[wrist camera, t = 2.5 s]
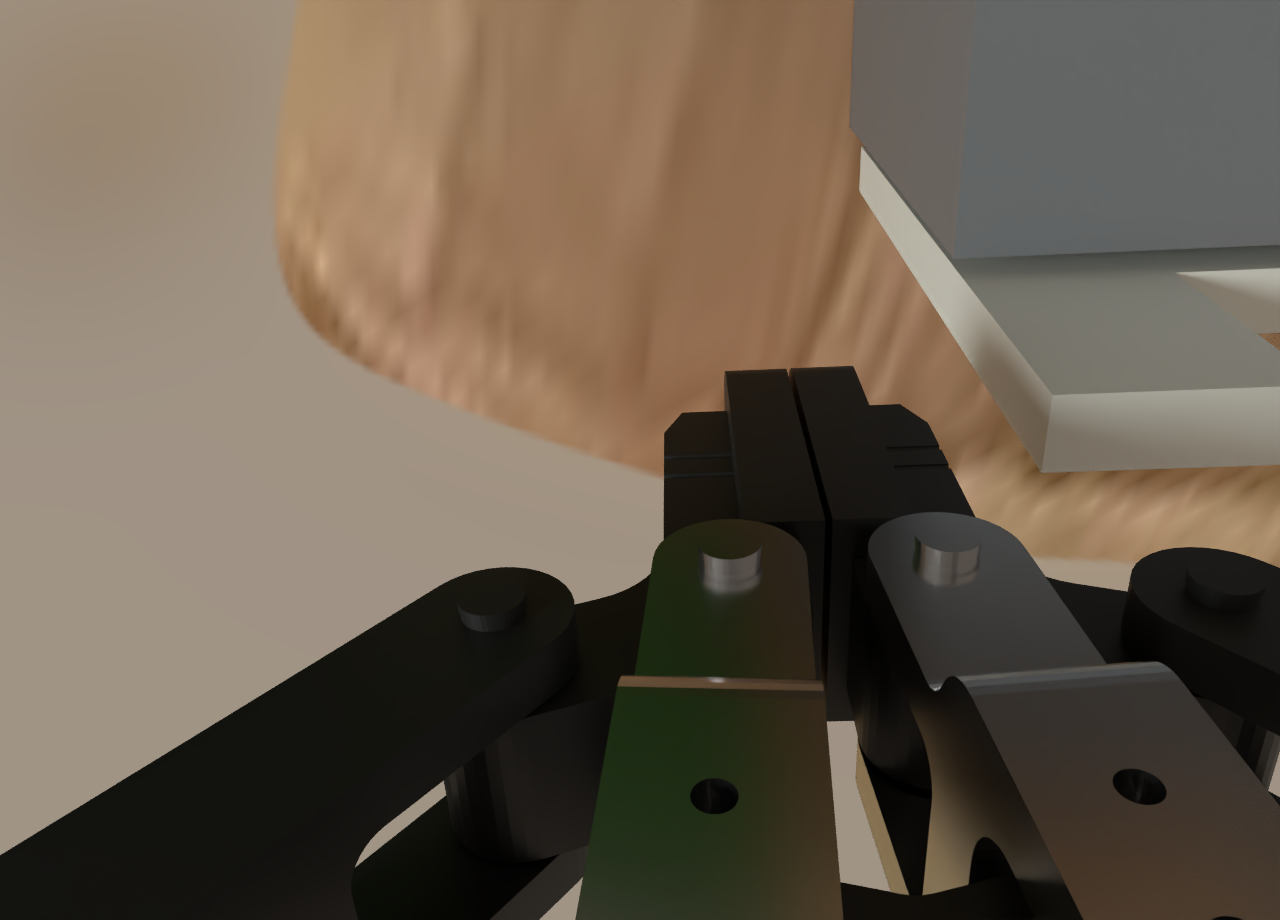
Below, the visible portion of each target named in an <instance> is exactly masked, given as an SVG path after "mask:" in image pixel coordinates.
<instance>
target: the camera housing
mask: <svg viewBox="0 0 1280 920" xmlns="http://www.w3.org/2000/svg"><path fill="white" fill-rule="evenodd" d="M850 128H851V129H852V130H853V132H854V133H855V134H856V135H857V137H858V138H859V139H860V141H861V142H862V143H863V144H864V146H865V147H866V148H867V149H868V151H869V152H870V153H871V155H872V156H873V157H874V158H875V160H876V161H877V162H878V163H879V165H880V166H881V167H882V169H883V170H884V171H885V172H886V174H887V175H888V176H889V177H890V179H891V180H892V181H893V183H894V184H895V185H896V186H897V188H898V189H899V190H900V192H901V193H902V194H903V195H904V197H905V198H906V199H907V200H908V202H909V203H910V204H911V206H912V207H913V208H914V209H915V211H916V212H917V213H918V214H919V216H920V217H921V218H922V220H923V221H924V222H925V223H926V225H927V226H928V227H929V228H930V230H931V231H932V232H933V234H934V235H935V236H936V237H937V239H938V240H939V241H940V242H941V244H942V245H943V246H944V248H945V249H946V250H947V251H948V253H949V254H950V255H951V257H952V258H953V259H963V258H986V257H1009V256H1032V255H1056V254H1079V253H1102V252H1125V251H1148V250H1171V249H1194V248H1217V247H1240V246H1263V245H1280V0H855V2H854V28H853V53H852V79H851V105H850Z"/></svg>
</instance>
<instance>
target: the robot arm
mask: <svg viewBox="0 0 1280 920" xmlns="http://www.w3.org/2000/svg"><path fill="white" fill-rule="evenodd" d="M724 399H725V411H716V412H690V413H682V414H681V415H680V416H679V417H678V418H677V419H676V420H675V422H674V423H673V424H672V425H671V426H670V427H669V428H668V429H667V431H666V432H665V433H664V540H663V541H662V542H661V543H660V545H659V546H658V547H657V549H656V551H655V554H654V557H653V562H652V568H651V574H650V575H648V576H647V578H645V579H643V580H642V581H641V582H639V583H638V584H636V585H634V586H632V587H630V588H629V589H627V590H624V591H622V592H619V593H617V594H614V595H611V596H607V597H604V598H600V599H597V600H592V601H588V602H584V603H580V604H574V599H573V596H572V594H571V592H570V590H569V589H568V588H567V586H565V585H564V584H563V583H562V582H561V581H560V580H558V579H556V578H555V577H553V576H551V575H549V574H546V573H543V572H540V571H536V570H532V569H526V568H516V567H504V568H503V567H501V568H491V569H485V570H480V571H475V572H471V573H468V574H465V575H462V576H459V577H457V578H454V579H452V580H450V581H448V582H446V583H444V584H442V585H440V586H439V587H437V588H435V589H434V590H432V591H430V592H429V593H427V594H425V595H424V596H422V597H421V598H419V599H417V600H416V601H414V602H413V603H411V604H409V605H408V606H406V607H404V608H403V609H401V610H399V611H398V612H396V613H395V614H393V615H392V616H390V617H388V618H386V619H385V620H383V621H381V622H380V623H378V624H377V625H375V626H373V627H372V628H370V629H368V630H367V631H365V632H364V633H362V634H360V635H359V636H357V637H356V638H354V639H352V640H351V641H349V642H347V643H346V644H344V645H343V646H341V647H339V648H337V649H336V650H334V651H333V652H331V653H329V654H328V655H326V656H324V657H323V658H321V659H320V660H318V661H316V662H315V663H313V664H311V665H310V666H308V667H307V668H305V669H303V670H302V671H300V672H298V673H297V674H295V675H293V676H292V677H290V678H289V679H287V680H286V681H284V682H282V683H280V684H279V685H277V686H275V687H274V688H272V689H271V690H269V691H267V692H266V693H264V694H262V695H261V696H259V697H258V698H256V699H254V700H253V701H251V702H250V703H248V704H246V705H245V706H243V707H241V708H240V709H238V710H236V711H235V712H233V713H231V714H230V715H228V716H227V717H225V718H223V719H222V720H220V721H219V722H217V723H215V724H214V725H212V726H210V727H209V728H207V729H205V730H204V731H202V732H200V733H199V734H197V735H196V736H194V737H192V738H191V739H189V740H188V741H186V742H184V743H183V744H181V745H179V746H178V747H176V748H174V749H173V750H171V751H170V752H168V753H166V754H165V755H163V756H161V757H160V758H159V759H156V760H155V761H153V762H152V763H150V764H148V765H147V766H145V767H143V768H142V769H140V770H139V771H137V772H135V773H134V774H132V775H130V776H129V777H127V778H125V779H124V780H122V781H121V782H119V783H117V784H116V785H114V786H112V787H111V788H109V789H108V790H106V791H104V792H103V793H101V794H100V795H98V796H96V797H95V798H93V799H91V800H90V801H88V802H86V803H85V804H83V805H81V806H80V807H79V808H77V809H75V810H73V811H72V812H70V813H68V814H67V815H65V816H64V817H62V818H60V819H59V820H57V821H56V822H54V823H52V824H50V825H49V826H47V827H46V828H44V829H42V830H41V831H39V832H37V833H36V834H34V835H33V836H31V837H30V838H28V839H26V840H24V841H23V842H21V843H20V844H18V845H16V846H15V847H13V848H12V849H10V850H8V851H6V852H5V853H3V854H2V855H0V920H539V919H540V918H541V917H542V916H543V915H544V914H546V913H547V911H549V909H551V908H552V907H553V906H554V905H555V904H556V903H557V902H558V901H559V900H560V899H561V898H562V897H563V896H564V895H565V894H566V893H567V892H568V891H569V890H570V889H571V888H572V887H573V886H574V885H575V884H576V883H577V882H578V881H579V880H580V879H581V878H582V877H583V880H582V886H581V892H580V897H579V903H578V908H577V914H576V920H1280V797H1278V796H1276V795H1275V794H1273V793H1271V792H1269V791H1268V789H1269V785H1270V782H1271V779H1272V775H1273V772H1274V768H1275V765H1276V762H1277V758H1278V755H1279V752H1280V568H1278V567H1276V566H1273V565H1271V564H1268V563H1266V562H1263V561H1260V560H1258V559H1255V558H1252V557H1249V556H1245V555H1242V554H1238V553H1234V552H1229V551H1224V550H1219V549H1210V548H1197V547H1184V548H1172V549H1166V550H1161V551H1158V552H1155V553H1152V554H1150V555H1148V556H1146V557H1144V558H1142V559H1141V560H1140V561H1139V562H1138V563H1136V565H1135V566H1134V568H1133V569H1132V573H1131V577H1130V582H1129V587H1128V592H1126V591H1120V590H1113V589H1107V588H1100V587H1093V586H1087V585H1081V584H1074V583H1069V582H1064V581H1059V580H1055V579H1052V578H1048V577H1045V575H1044V574H1043V573H1042V571H1041V570H1040V568H1039V567H1038V565H1037V564H1036V563H1035V561H1034V560H1033V558H1032V557H1031V556H1030V554H1029V553H1028V551H1027V550H1026V548H1025V547H1024V546H1023V544H1022V543H1021V542H1020V541H1019V540H1018V539H1017V538H1016V537H1015V536H1013V535H1012V534H1011V533H1010V532H1008V531H1006V530H1005V529H1003V528H1001V527H1000V526H997V525H995V524H993V523H990V522H988V521H985V520H982V519H979V518H976V517H975V515H974V513H973V511H972V509H971V507H970V505H969V503H968V501H967V499H966V497H965V496H964V494H963V492H962V490H961V488H960V486H959V484H958V482H957V480H956V478H955V476H954V474H953V472H952V470H951V468H950V469H949V467H948V462H947V460H946V458H945V456H944V454H943V452H942V450H939V444H938V442H937V440H936V438H935V436H934V434H933V432H932V430H931V428H930V426H929V424H928V423H927V422H926V421H924V420H923V419H921V418H920V417H918V416H917V415H915V414H914V413H912V412H911V411H909V410H908V409H906V408H905V407H903V406H902V405H900V404H893V405H869V403H868V401H867V398H866V396H865V393H864V391H863V389H862V386H861V384H860V381H859V379H858V376H857V374H856V371H855V369H854V367H853V366H838V367H813V368H791V369H790V372H789V377H788V373H787V370H786V369H768V370H743V371H725V376H724ZM827 721H854V722H855V726H856V730H857V735H858V744H857V762H856V783H857V788H858V791H859V794H860V797H861V800H862V803H863V807H864V810H865V812H866V816H867V819H868V822H869V825H870V828H871V832H872V835H873V838H874V841H875V844H876V847H877V850H878V853H879V857H880V860H881V863H882V866H883V869H884V872H885V875H886V879H887V882H888V885H889V888H890V891H891V892H889V891H883V890H878V889H873V888H867V887H862V886H857V885H851V884H847V883H841V882H840V874H839V862H838V850H837V838H836V826H835V814H834V802H833V790H832V780H831V767H830V756H829V743H828V732H827ZM443 780H444V784H445V790H446V796H445V797H444V798H442V799H441V800H440V801H438V802H437V803H436V804H435V805H434V806H432V807H431V808H430V809H429V810H427V811H426V812H425V813H423V814H422V815H421V816H420V817H418V818H417V819H416V820H415V821H413V822H412V823H411V824H410V825H408V826H407V827H406V828H404V829H403V830H402V831H401V832H399V833H398V834H397V835H396V836H394V837H393V838H392V839H391V840H389V841H388V842H387V843H385V844H384V845H383V846H382V847H380V848H379V849H378V850H377V851H376V852H374V853H373V854H372V855H370V856H369V857H368V858H367V859H365V860H364V861H363V862H361V863H360V864H359V865H358V866H356V867H355V865H356V863H357V861H358V859H359V857H360V855H361V853H362V851H363V850H364V848H365V847H366V845H367V844H368V843H369V841H370V840H371V839H372V838H373V837H374V836H375V835H376V833H377V832H378V831H380V830H381V829H382V828H383V827H384V826H385V825H387V824H388V823H389V822H391V821H392V820H393V819H394V818H396V817H397V816H398V815H400V814H401V813H402V812H404V811H405V810H406V809H407V808H409V807H410V806H411V805H413V804H414V803H415V802H416V801H418V800H419V799H420V798H422V797H423V796H424V795H425V794H427V793H428V792H429V791H430V790H431V789H433V788H434V787H436V786H437V785H438V784H440V783H441V782H442V781H443Z"/></svg>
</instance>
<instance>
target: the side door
mask: <svg viewBox="0 0 1280 920" xmlns="http://www.w3.org/2000/svg"><path fill="white" fill-rule="evenodd" d="M859 191H860V193H861V194H862V196H863V197H864V199H865V200H866V202H867V204H868V205H869V207H870V208H871V210H872V211H873V213H874V214H875V216H876V217H877V219H878V221H879V222H880V224H881V225H882V227H883V228H884V230H885V231H886V233H887V234H888V236H889V238H890V239H891V241H892V242H893V244H894V245H895V247H896V248H897V250H898V251H899V253H900V255H901V256H902V258H903V259H904V261H905V262H906V264H907V265H908V267H909V269H910V270H911V272H912V273H913V275H914V276H915V278H916V279H917V281H918V282H919V284H920V286H921V287H922V289H923V290H924V292H925V293H926V295H927V296H928V298H929V299H930V301H931V303H932V304H933V306H934V307H935V309H936V310H937V312H938V313H939V315H940V316H941V318H942V320H943V321H944V323H945V324H946V326H947V327H948V329H949V330H950V332H951V334H952V335H953V337H954V338H955V340H956V341H957V343H958V344H959V346H960V347H961V349H962V351H963V352H964V354H965V355H966V357H967V358H968V360H969V361H970V363H971V364H972V366H973V368H974V369H975V371H976V372H977V374H978V375H979V377H980V378H981V380H982V381H983V383H984V385H985V386H986V388H987V389H988V391H989V392H990V394H991V395H992V397H993V399H994V400H995V402H996V403H997V405H998V406H999V408H1000V409H1001V411H1002V412H1003V414H1004V416H1005V417H1006V419H1007V420H1008V422H1009V423H1010V425H1011V426H1012V428H1013V429H1014V431H1015V433H1016V434H1017V436H1018V437H1019V439H1020V440H1021V442H1022V443H1023V445H1024V446H1025V448H1026V450H1027V451H1028V453H1029V454H1030V456H1031V457H1032V459H1033V460H1034V462H1035V464H1036V465H1037V467H1038V468H1039V470H1040V471H1041V473H1049V472H1079V471H1108V470H1138V469H1167V468H1196V467H1226V466H1255V465H1280V351H1279V350H1278V349H1277V348H1275V347H1274V346H1273V345H1271V344H1270V343H1269V342H1267V341H1266V340H1265V339H1263V338H1262V337H1261V336H1259V335H1258V334H1259V333H1280V245H1263V246H1240V247H1217V248H1194V249H1171V250H1148V251H1125V252H1102V253H1079V254H1056V255H1032V256H1009V257H986V258H963V259H953V258H952V257H951V255H950V254H949V253H948V251H947V250H946V249H945V248H944V246H943V245H942V244H941V242H940V241H939V240H938V239H937V237H936V236H935V235H934V234H933V232H932V231H931V230H930V228H929V227H928V226H927V225H926V223H925V222H924V221H923V220H922V218H921V217H920V216H919V214H918V213H917V212H916V211H915V209H914V208H913V207H912V206H911V204H910V203H909V202H908V200H907V199H906V198H905V197H904V195H903V194H902V193H901V192H900V190H899V189H898V188H897V186H896V185H895V184H894V183H893V181H892V180H891V179H890V177H889V176H888V175H887V174H886V172H885V171H884V170H883V169H882V167H881V166H880V165H879V163H878V162H877V161H876V160H875V158H874V157H873V156H872V155H871V153H870V152H869V151H868V149H867V148H866V147H865V146H862V147H861V165H860V188H859Z"/></svg>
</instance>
